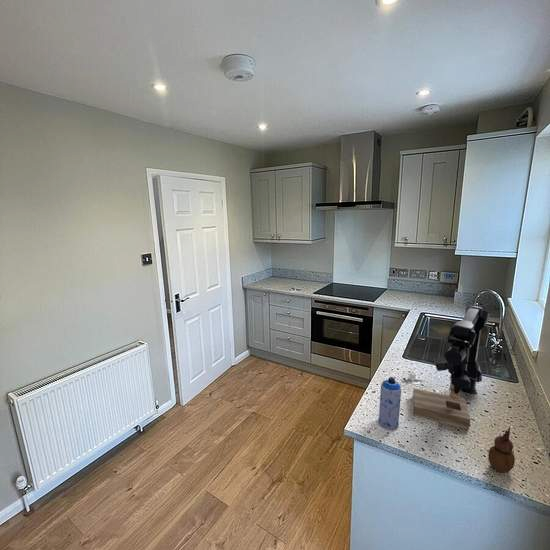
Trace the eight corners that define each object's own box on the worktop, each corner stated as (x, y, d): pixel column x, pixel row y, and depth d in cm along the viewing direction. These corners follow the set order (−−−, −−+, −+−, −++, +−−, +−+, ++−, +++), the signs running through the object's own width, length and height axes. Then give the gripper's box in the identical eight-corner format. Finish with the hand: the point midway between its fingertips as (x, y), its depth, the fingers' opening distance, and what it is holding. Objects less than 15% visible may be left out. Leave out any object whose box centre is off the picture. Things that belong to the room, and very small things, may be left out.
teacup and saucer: (422, 378, 151) (423, 371, 150) (422, 386, 144) (423, 379, 143) (404, 374, 155) (404, 367, 154) (402, 382, 148) (403, 375, 147)
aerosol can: (400, 431, 114) (405, 385, 110) (379, 429, 116) (383, 383, 112) (396, 417, 122) (399, 374, 118) (376, 416, 123) (379, 372, 119)
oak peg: (448, 393, 124) (450, 373, 122) (459, 395, 123) (462, 375, 121) (449, 398, 121) (451, 378, 119) (461, 401, 119) (463, 380, 117)
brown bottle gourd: (502, 460, 100) (509, 422, 97) (516, 475, 95) (524, 435, 92) (482, 461, 100) (489, 423, 97) (496, 476, 94) (502, 436, 91)
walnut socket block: (412, 396, 136) (413, 388, 135) (463, 408, 127) (464, 398, 127) (412, 415, 123) (413, 406, 122) (469, 429, 115) (470, 419, 114)
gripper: (435, 342, 129) (431, 374, 133) (438, 362, 113) (434, 398, 116) (464, 347, 125) (460, 380, 128) (473, 368, 108) (467, 405, 111)
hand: (455, 390), depth 121 cm, fingers closed on oak peg, 4 cm apart
